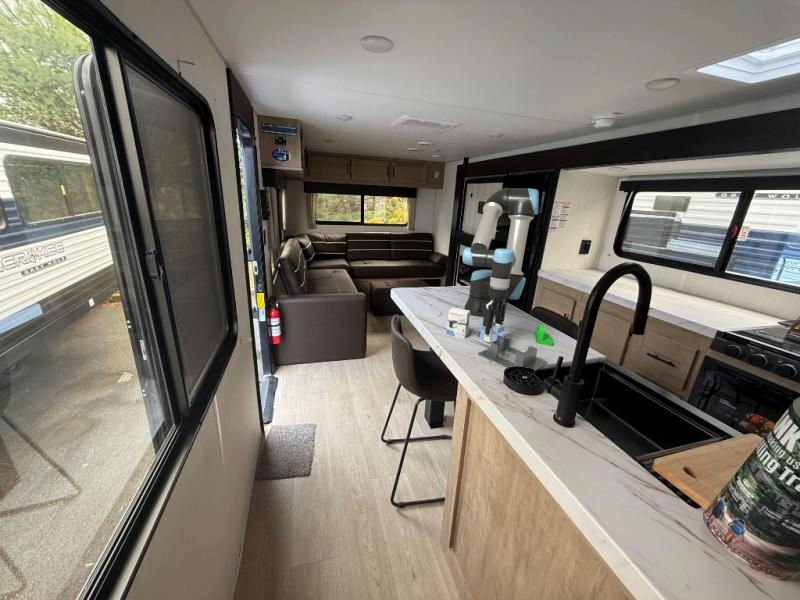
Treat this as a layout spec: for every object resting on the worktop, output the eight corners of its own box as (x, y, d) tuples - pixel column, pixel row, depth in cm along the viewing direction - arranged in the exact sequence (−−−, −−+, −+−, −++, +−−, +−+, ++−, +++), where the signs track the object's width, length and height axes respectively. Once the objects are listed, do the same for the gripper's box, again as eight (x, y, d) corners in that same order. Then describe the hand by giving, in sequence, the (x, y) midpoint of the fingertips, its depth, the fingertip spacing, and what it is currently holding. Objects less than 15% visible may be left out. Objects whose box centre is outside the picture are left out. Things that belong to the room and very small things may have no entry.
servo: (481, 335, 138) (483, 317, 136) (507, 345, 129) (510, 326, 126) (474, 337, 135) (477, 319, 133) (500, 348, 126) (504, 329, 123)
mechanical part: (551, 346, 131) (555, 329, 129) (536, 344, 133) (540, 326, 130) (547, 336, 142) (551, 320, 140) (534, 334, 144) (537, 317, 141)
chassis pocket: (500, 344, 130) (502, 332, 128) (547, 363, 115) (550, 349, 114) (477, 354, 120) (479, 341, 118) (526, 376, 105) (528, 361, 104)
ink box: (445, 334, 137) (448, 309, 133) (449, 331, 141) (452, 307, 137) (464, 339, 133) (467, 313, 130) (467, 335, 137) (470, 310, 134)
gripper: (502, 282, 133) (495, 332, 140) (478, 288, 122) (471, 341, 129) (518, 286, 128) (510, 337, 135) (494, 292, 117) (486, 348, 123)
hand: (491, 339), depth 132 cm, fingers closed on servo, 5 cm apart
